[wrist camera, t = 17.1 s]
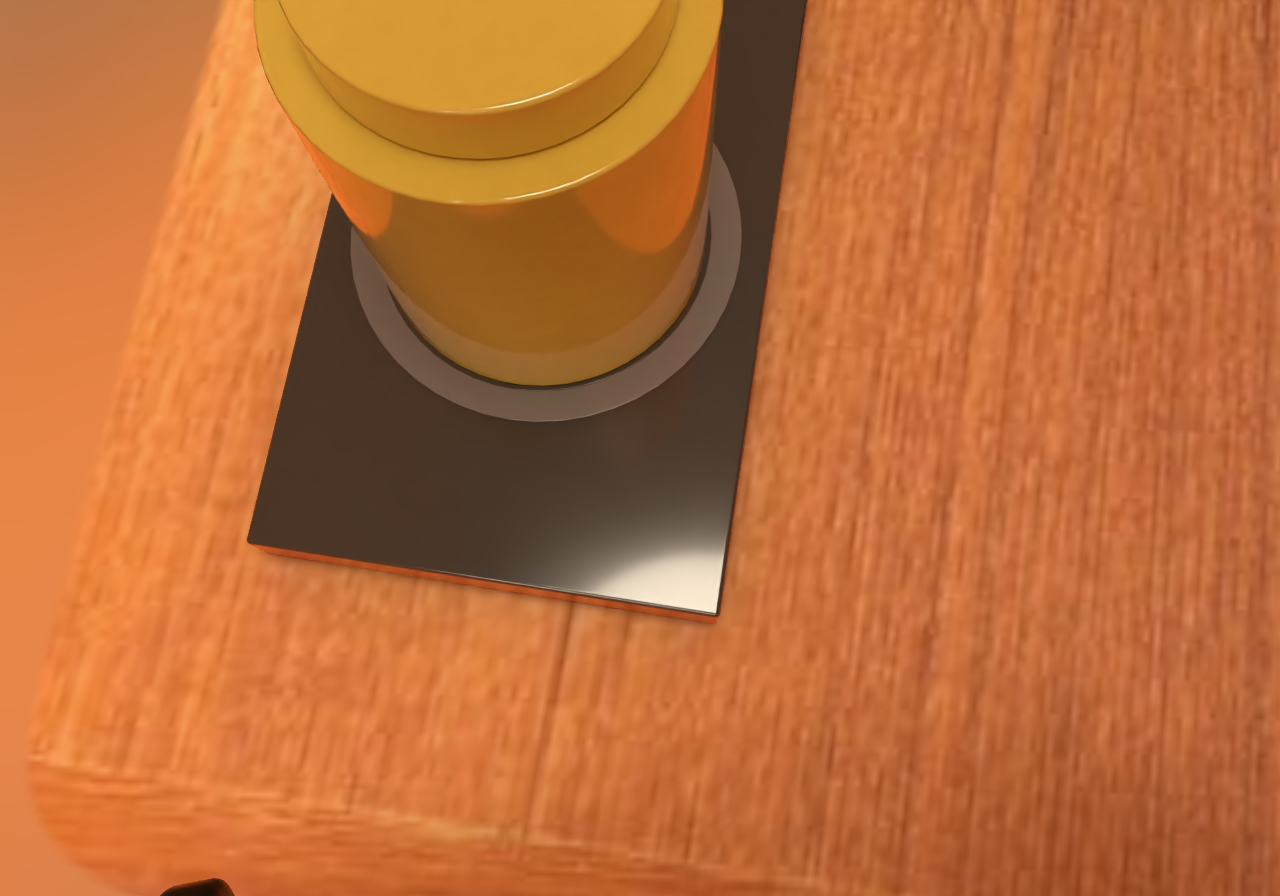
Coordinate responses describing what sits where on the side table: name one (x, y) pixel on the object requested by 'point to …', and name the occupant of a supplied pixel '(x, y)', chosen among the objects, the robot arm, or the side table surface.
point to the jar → (513, 164)
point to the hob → (545, 406)
